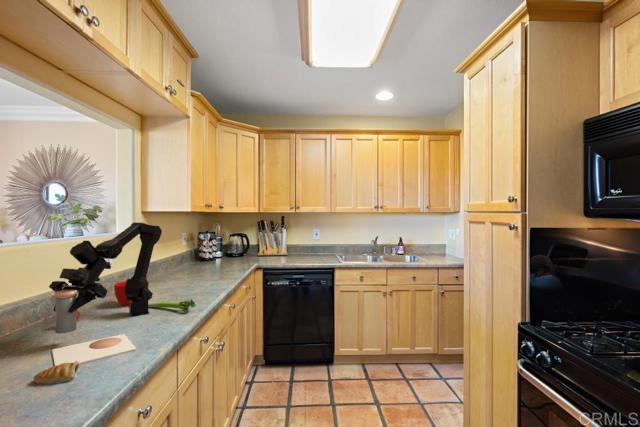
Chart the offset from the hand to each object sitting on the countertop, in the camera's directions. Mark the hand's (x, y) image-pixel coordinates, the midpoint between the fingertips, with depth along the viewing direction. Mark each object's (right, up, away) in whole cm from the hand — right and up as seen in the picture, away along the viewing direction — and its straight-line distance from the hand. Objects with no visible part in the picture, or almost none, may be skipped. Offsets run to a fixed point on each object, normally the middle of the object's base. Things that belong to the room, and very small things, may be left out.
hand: (62, 311), depth 105 cm
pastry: (+16, -12, -20) cm, 28 cm away
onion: (-12, -11, +18) cm, 25 cm away
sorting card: (+13, -11, -3) cm, 17 cm away
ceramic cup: (-8, -11, +50) cm, 52 cm away
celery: (+15, -12, +40) cm, 45 cm away
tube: (0, -7, +1) cm, 7 cm away
